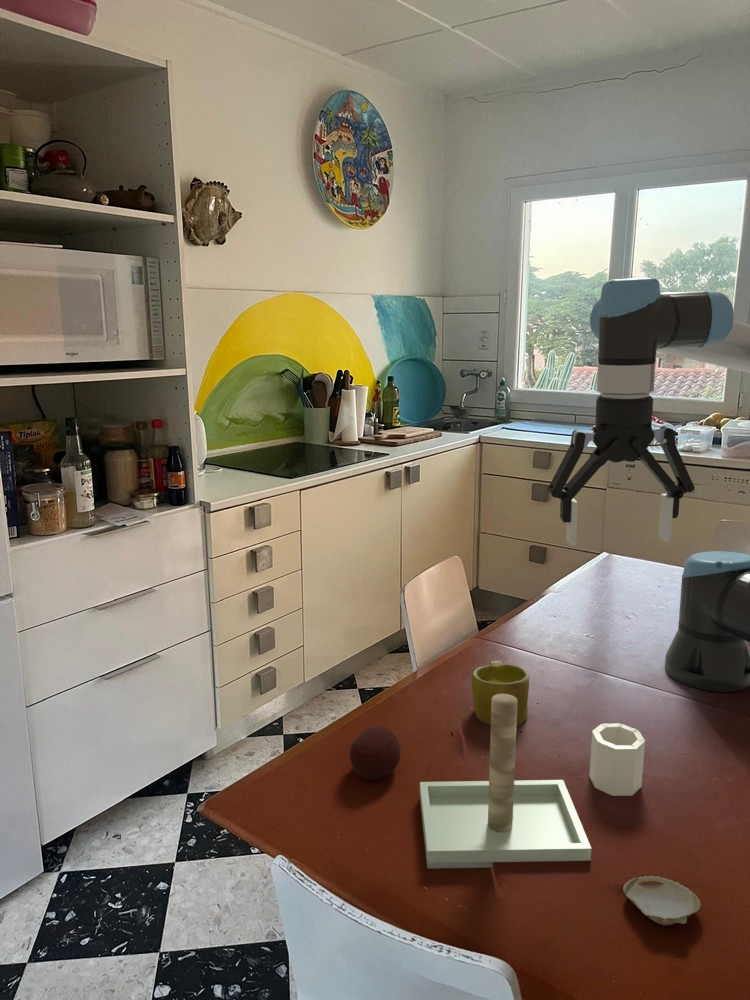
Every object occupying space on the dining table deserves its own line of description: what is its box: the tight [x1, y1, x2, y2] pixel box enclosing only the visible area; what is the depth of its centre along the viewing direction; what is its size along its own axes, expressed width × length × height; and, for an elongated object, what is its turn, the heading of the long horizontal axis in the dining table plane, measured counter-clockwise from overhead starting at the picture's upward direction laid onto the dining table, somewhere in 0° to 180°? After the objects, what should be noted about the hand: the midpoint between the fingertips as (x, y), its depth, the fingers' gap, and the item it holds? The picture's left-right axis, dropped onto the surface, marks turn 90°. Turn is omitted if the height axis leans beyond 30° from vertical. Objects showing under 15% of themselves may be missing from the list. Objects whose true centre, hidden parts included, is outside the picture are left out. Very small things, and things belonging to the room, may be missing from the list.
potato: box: [349, 725, 402, 781], centre depth 113 cm, size 7×10×6 cm
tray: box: [419, 779, 593, 870], centre depth 100 cm, size 20×14×2 cm
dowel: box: [488, 694, 518, 832], centre depth 98 cm, size 3×3×18 cm
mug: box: [471, 660, 530, 727], centre depth 128 cm, size 12×10×10 cm
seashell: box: [622, 875, 702, 926], centre depth 87 cm, size 8×3×8 cm
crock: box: [588, 722, 646, 797], centre depth 109 cm, size 7×7×8 cm
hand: (617, 541), depth 111 cm, fingers open, 13 cm apart
